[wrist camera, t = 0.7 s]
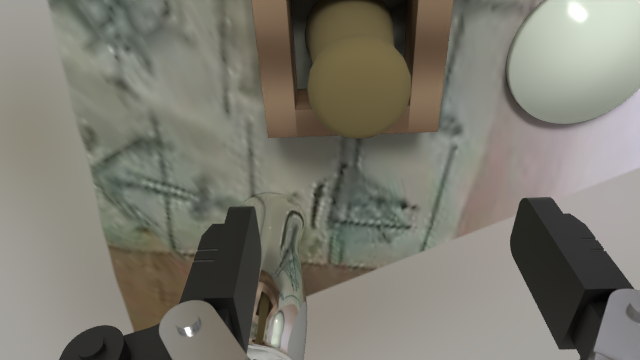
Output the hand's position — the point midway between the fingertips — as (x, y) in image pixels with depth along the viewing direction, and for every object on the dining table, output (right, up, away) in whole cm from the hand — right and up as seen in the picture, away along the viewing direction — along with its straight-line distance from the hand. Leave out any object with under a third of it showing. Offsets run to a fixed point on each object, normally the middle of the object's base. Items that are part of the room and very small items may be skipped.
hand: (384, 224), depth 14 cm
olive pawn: (0, +11, +17) cm, 20 cm away
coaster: (+16, +10, +17) cm, 26 cm away
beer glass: (-6, -2, +26) cm, 27 cm away
